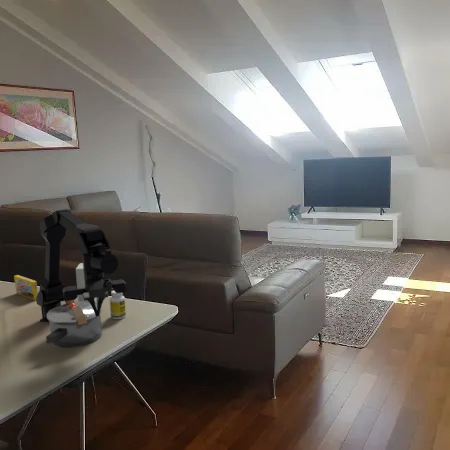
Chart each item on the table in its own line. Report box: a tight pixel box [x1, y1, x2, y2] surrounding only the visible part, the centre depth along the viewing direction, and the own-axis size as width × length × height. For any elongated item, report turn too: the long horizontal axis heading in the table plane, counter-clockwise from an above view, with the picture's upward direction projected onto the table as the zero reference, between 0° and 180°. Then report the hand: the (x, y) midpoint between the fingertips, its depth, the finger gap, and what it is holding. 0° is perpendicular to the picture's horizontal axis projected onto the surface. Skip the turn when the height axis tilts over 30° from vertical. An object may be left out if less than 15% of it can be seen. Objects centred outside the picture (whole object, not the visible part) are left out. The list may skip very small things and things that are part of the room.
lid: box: [47, 300, 103, 325], centre depth 152 cm, size 24×17×3 cm
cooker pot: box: [45, 313, 103, 349], centre depth 153 cm, size 16×26×8 cm, turn 168°
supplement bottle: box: [109, 290, 127, 320], centre depth 171 cm, size 5×5×10 cm
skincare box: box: [75, 262, 97, 303], centre depth 187 cm, size 8×7×16 cm
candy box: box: [13, 274, 39, 302], centre depth 198 cm, size 16×2×8 cm, turn 50°
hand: (97, 315), depth 146 cm, fingers closed
